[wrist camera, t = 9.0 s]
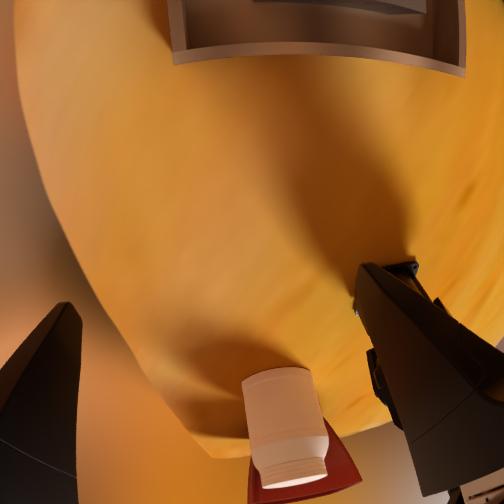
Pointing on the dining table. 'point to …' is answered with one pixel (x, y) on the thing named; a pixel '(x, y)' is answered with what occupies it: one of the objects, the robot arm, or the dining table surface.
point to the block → (370, 5)
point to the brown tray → (318, 32)
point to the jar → (285, 427)
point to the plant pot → (337, 479)
